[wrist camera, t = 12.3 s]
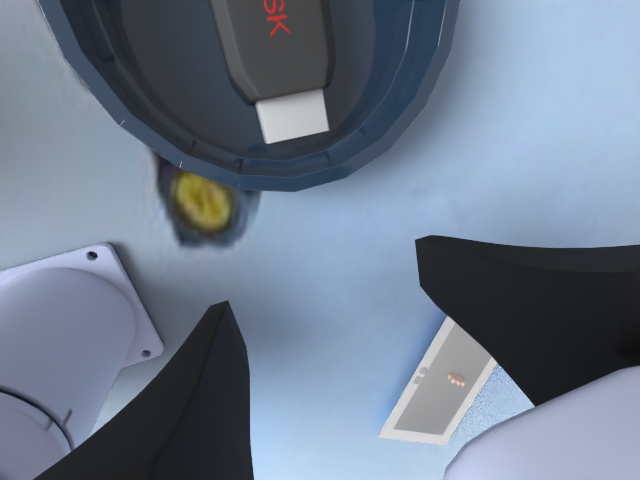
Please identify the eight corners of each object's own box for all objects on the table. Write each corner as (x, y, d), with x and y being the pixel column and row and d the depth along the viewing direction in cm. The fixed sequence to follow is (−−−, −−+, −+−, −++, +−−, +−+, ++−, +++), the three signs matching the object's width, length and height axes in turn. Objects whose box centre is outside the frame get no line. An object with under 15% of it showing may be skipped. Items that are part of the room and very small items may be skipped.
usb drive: (290, -160, 14) (302, -224, 11) (336, 126, 18) (352, 126, 16) (167, -153, 13) (151, -221, 10) (246, 145, 17) (249, 148, 15)
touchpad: (519, 305, 28) (540, 319, 26) (437, 435, 31) (451, 456, 29) (454, 282, 25) (473, 295, 23) (372, 426, 28) (382, 449, 26)
